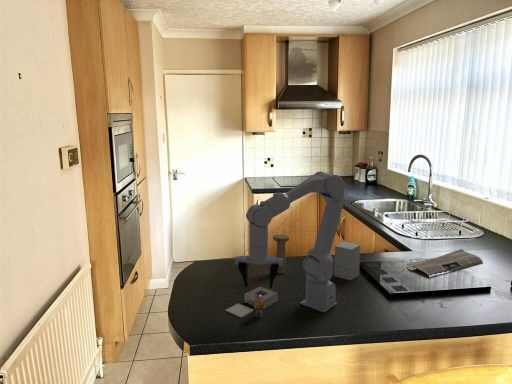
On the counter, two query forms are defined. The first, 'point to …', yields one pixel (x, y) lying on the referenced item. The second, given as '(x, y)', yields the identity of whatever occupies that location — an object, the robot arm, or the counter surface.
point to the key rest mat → (239, 310)
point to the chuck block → (267, 294)
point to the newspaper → (447, 262)
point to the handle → (281, 250)
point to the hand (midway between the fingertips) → (258, 286)
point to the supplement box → (347, 260)
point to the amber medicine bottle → (259, 305)
